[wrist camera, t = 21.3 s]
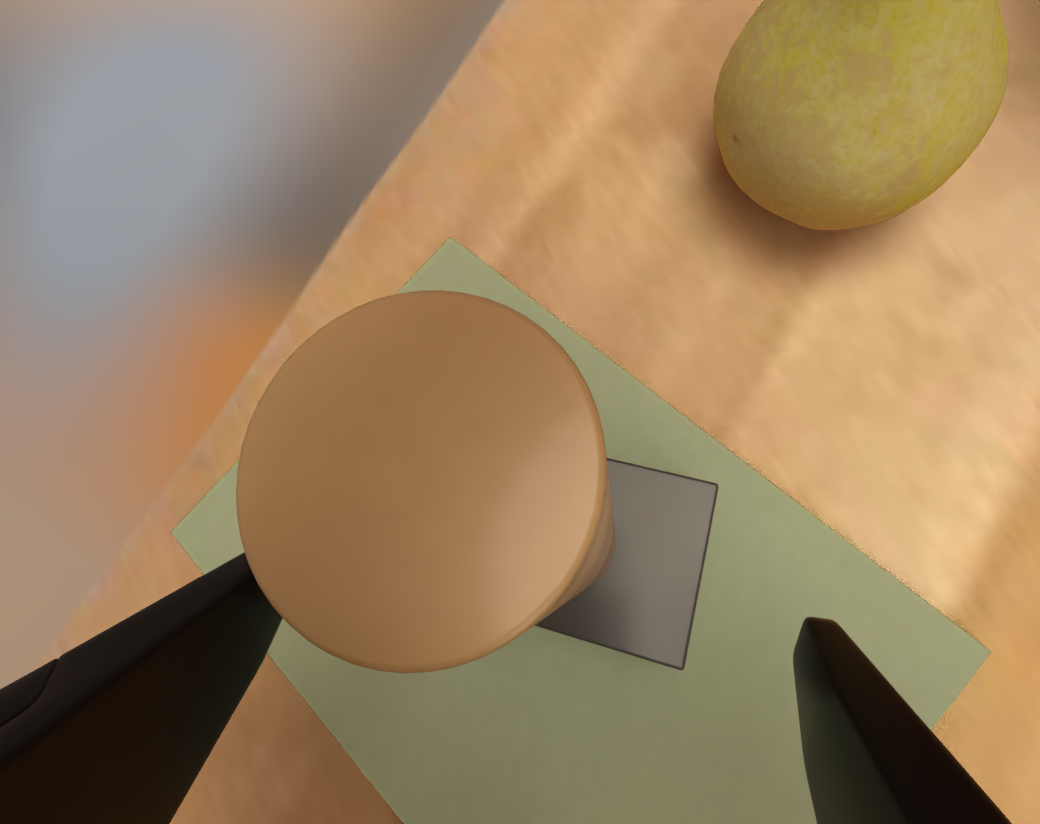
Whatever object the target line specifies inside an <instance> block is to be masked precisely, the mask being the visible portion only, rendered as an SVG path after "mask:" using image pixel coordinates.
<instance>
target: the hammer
mask: <svg viewBox="0 0 1040 824" xmlns="http://www.w3.org/2000/svg"><path fill="white" fill-rule="evenodd" d="M718 488H719V486H718V484H717V483H713V482H709V481H705V480H701V479H696V478H692V477H688V476H683V475H679V474H675V473H670V472H666V471H662V470H657V469H653V468H649V467H644V466H640V465H636V464H631V463H627V462H623V461H619V460H614V459H610V458H606V450H605V441H604V433H603V429H602V425H601V421H600V417H599V413H598V409H597V407H596V404H595V402H594V399H593V397H592V394H591V392H590V389H589V387H588V385H587V383H586V381H585V380H584V378H583V376H582V374H581V372H580V371H579V369H578V367H577V366H576V364H575V363H574V362H573V360H572V359H571V358H570V356H569V355H568V354H567V352H566V351H565V350H564V349H563V347H562V346H561V345H560V344H559V343H558V342H557V341H556V340H555V339H554V338H553V337H552V336H551V335H550V334H549V333H548V332H547V331H545V330H544V329H543V328H541V327H540V326H539V325H537V324H536V323H535V322H533V321H532V320H531V319H529V318H528V317H526V316H525V315H523V314H521V313H519V312H517V311H515V310H514V309H512V308H510V307H508V306H506V305H503V304H501V303H498V302H495V301H493V300H490V299H488V298H484V297H480V296H476V295H472V294H467V293H462V292H453V291H444V290H426V291H413V292H406V293H399V294H395V295H391V296H387V297H384V298H380V299H376V300H374V301H371V302H369V303H366V304H363V305H361V306H358V307H356V308H354V309H352V310H350V311H348V312H346V313H345V314H343V315H341V316H339V317H337V318H335V319H334V320H332V321H331V322H330V323H328V324H327V325H325V326H324V327H322V328H321V329H319V330H318V331H317V332H315V333H314V334H313V335H312V336H311V337H310V338H309V339H307V340H306V341H305V342H304V343H303V344H302V345H300V346H299V348H298V349H297V350H296V351H295V352H294V353H293V354H292V355H291V356H290V357H289V358H288V359H287V360H286V362H285V363H284V364H283V365H282V367H281V368H280V369H279V371H278V372H277V373H276V375H275V376H274V377H273V379H272V380H271V381H270V383H269V385H268V387H267V388H266V390H265V392H264V393H263V395H262V397H261V399H260V400H259V402H258V404H257V407H256V409H255V411H254V413H253V416H252V418H251V420H250V422H249V425H248V428H247V432H246V435H245V438H244V441H243V444H242V449H241V454H240V459H239V464H238V470H237V484H236V506H237V519H238V525H239V531H240V537H241V541H242V545H243V548H244V551H245V554H246V557H247V561H248V563H249V566H250V568H251V570H252V572H253V574H254V576H255V579H256V581H257V583H258V585H259V586H260V588H261V590H262V591H263V593H264V594H265V596H266V597H267V599H268V600H269V602H270V604H271V605H272V606H273V607H274V608H275V610H276V611H277V612H278V613H279V614H280V615H281V617H282V618H283V619H284V620H285V621H286V622H287V623H288V624H289V625H290V626H291V627H292V628H293V629H295V630H296V631H297V632H298V633H299V634H300V635H302V636H303V637H304V638H305V639H306V640H307V641H309V642H311V643H312V644H314V645H315V646H317V647H318V648H320V649H322V650H323V651H325V652H326V653H328V654H330V655H332V656H335V657H337V658H339V659H342V660H344V661H346V662H348V663H351V664H354V665H358V666H361V667H365V668H369V669H373V670H377V671H386V672H395V673H422V672H432V671H438V670H443V669H448V668H454V667H457V666H460V665H463V664H466V663H469V662H472V661H475V660H477V659H480V658H482V657H484V656H486V655H488V654H490V653H492V652H494V651H496V650H498V649H500V648H502V647H504V646H506V645H507V644H509V643H510V642H512V641H513V640H514V639H516V638H517V637H519V636H520V635H522V634H523V633H524V632H526V631H527V630H529V629H530V628H532V627H533V626H537V627H540V628H544V629H547V630H550V631H553V632H557V633H560V634H563V635H566V636H570V637H573V638H576V639H579V640H583V641H586V642H589V643H592V644H596V645H599V646H602V647H605V648H609V649H612V650H615V651H618V652H622V653H625V654H628V655H632V656H635V657H638V658H641V659H645V660H648V661H651V662H654V663H658V664H661V665H664V666H667V667H671V668H674V669H677V670H683V669H684V667H685V662H686V657H687V652H688V646H689V641H690V636H691V631H692V625H693V620H694V615H695V609H696V604H697V599H698V594H699V588H700V583H701V578H702V573H703V567H704V562H705V557H706V552H707V546H708V541H709V536H710V530H711V525H712V520H713V515H714V509H715V504H716V499H717V494H718Z"/></svg>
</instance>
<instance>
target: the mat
mask: <svg viewBox="0 0 1040 824" xmlns="http://www.w3.org/2000/svg"><path fill="white" fill-rule="evenodd" d="M426 290H444V291H453V292H462V293H467V294H472V295H476V296H480V297H484V298H488V299H490V300H493V301H495V302H498V303H501V304H503V305H506V306H508V307H510V308H512V309H514V310H515V311H517V312H519V313H521V314H523V315H525V316H526V317H528V318H529V319H531V320H532V321H533V322H535V323H536V324H537V325H539V326H540V327H541V328H543V329H544V330H545V331H547V332H548V333H549V334H550V335H551V336H552V337H553V338H554V339H555V340H556V341H557V342H558V343H559V344H560V345H561V346H562V347H563V349H564V350H565V351H566V352H567V354H568V355H569V356H570V358H571V359H572V360H573V362H574V363H575V364H576V366H577V367H578V369H579V371H580V372H581V374H582V376H583V378H584V380H585V381H586V383H587V385H588V387H589V389H590V392H591V394H592V397H593V399H594V402H595V404H596V407H597V409H598V413H599V417H600V421H601V425H602V429H603V433H604V441H605V450H606V458H610V459H614V460H619V461H623V462H627V463H631V464H636V465H640V466H644V467H649V468H653V469H657V470H662V471H666V472H670V473H675V474H679V475H683V476H688V477H692V478H696V479H701V480H705V481H709V482H713V483H717V484H718V486H719V488H718V494H717V499H716V504H715V509H714V515H713V520H712V525H711V530H710V536H709V541H708V546H707V552H706V557H705V562H704V567H703V573H702V578H701V583H700V588H699V594H698V599H697V604H696V609H695V615H694V620H693V625H692V631H691V636H690V641H689V646H688V652H687V657H686V662H685V667H684V669H683V670H677V669H674V668H671V667H667V666H664V665H661V664H658V663H654V662H651V661H648V660H645V659H641V658H638V657H635V656H632V655H628V654H625V653H622V652H618V651H615V650H612V649H609V648H605V647H602V646H599V645H596V644H592V643H589V642H586V641H583V640H579V639H576V638H573V637H570V636H566V635H563V634H560V633H557V632H553V631H550V630H547V629H544V628H540V627H537V626H533V627H532V628H530V629H529V630H527V631H526V632H524V633H523V634H522V635H520V636H519V637H517V638H516V639H514V640H513V641H512V642H510V643H509V644H507V645H506V646H504V647H502V648H500V649H498V650H496V651H494V652H492V653H490V654H488V655H486V656H484V657H482V658H480V659H477V660H475V661H472V662H469V663H466V664H463V665H460V666H457V667H454V668H448V669H443V670H438V671H432V672H422V673H395V672H386V671H377V670H373V669H369V668H365V667H361V666H358V665H354V664H351V663H348V662H346V661H344V660H342V659H339V658H337V657H335V656H332V655H330V654H328V653H326V652H325V651H323V650H322V649H320V648H318V647H317V646H315V645H314V644H312V643H311V642H309V641H307V640H306V639H305V638H304V637H303V636H302V635H300V634H299V633H298V632H297V631H296V630H295V629H293V628H292V627H291V626H290V625H289V624H288V623H287V622H286V621H285V620H284V619H282V621H281V623H280V625H279V628H278V630H277V632H276V634H275V636H274V639H273V641H272V643H271V645H270V647H269V650H268V652H267V654H268V655H269V656H270V658H271V659H272V660H273V661H274V663H275V664H276V665H277V666H278V668H279V669H280V670H281V671H282V673H283V674H284V675H285V676H286V678H287V679H288V680H289V681H290V683H291V684H292V685H293V686H294V688H295V689H296V690H297V691H298V693H299V694H300V695H301V696H302V698H303V699H304V700H305V701H306V703H307V704H308V705H309V706H310V708H311V709H312V710H313V711H314V713H315V714H316V715H317V716H318V718H319V719H320V720H321V721H322V723H323V724H324V725H325V726H326V728H327V729H328V730H329V731H330V733H331V734H332V735H333V736H334V738H335V739H336V740H337V741H338V743H339V744H340V745H341V746H342V748H343V749H344V750H345V751H346V753H347V754H348V755H349V757H350V758H351V759H352V760H353V762H354V763H355V764H356V765H357V767H358V768H359V769H360V770H361V772H362V773H363V774H364V775H365V777H366V778H367V779H368V780H369V782H370V783H371V784H372V785H373V787H374V788H375V789H376V790H377V792H378V793H379V794H380V795H381V797H382V798H383V799H384V800H385V802H386V803H387V804H388V805H389V807H390V808H391V809H392V810H393V812H394V813H395V814H396V815H397V817H398V818H399V819H400V820H401V822H402V823H403V824H817V821H816V817H815V812H814V808H813V803H812V799H811V794H810V790H809V785H808V781H807V776H806V770H805V765H804V758H803V750H802V742H801V733H800V724H799V714H798V705H797V696H796V687H795V678H794V669H793V653H794V648H795V645H796V642H797V639H798V636H799V633H800V630H801V627H802V624H803V621H804V620H805V618H806V617H810V616H811V617H818V618H825V619H831V620H834V621H835V622H837V623H838V624H839V625H840V626H841V627H842V629H843V630H844V631H845V632H846V633H847V634H848V635H849V637H850V638H851V639H852V640H853V641H854V642H855V643H856V645H857V646H858V647H859V648H860V649H861V650H862V652H863V653H864V654H865V655H866V656H867V657H868V658H869V660H870V661H871V662H872V663H873V664H874V665H875V667H876V668H877V669H878V670H879V671H880V672H881V673H882V675H883V676H884V677H885V678H886V679H887V680H888V681H889V683H890V684H891V685H892V686H893V687H894V688H895V690H896V691H897V692H898V693H899V694H900V695H901V696H902V698H903V699H904V700H905V701H906V702H907V703H908V705H909V706H910V707H911V708H912V709H913V710H914V711H915V713H916V714H917V715H918V716H919V717H920V718H921V719H922V721H923V722H924V723H925V724H926V725H927V726H928V728H929V729H930V730H932V729H933V727H934V726H935V725H936V724H937V722H938V721H939V720H940V718H941V717H942V716H943V714H944V713H945V712H946V711H947V709H948V708H949V707H950V705H951V704H952V703H953V701H954V700H955V699H956V698H957V696H958V695H959V694H960V692H961V691H962V690H963V688H964V687H965V686H966V685H967V683H968V682H969V681H970V679H971V678H972V677H973V675H974V674H975V673H976V672H977V670H978V669H979V668H980V666H981V665H982V664H983V662H984V661H985V660H986V659H987V657H988V656H989V655H990V653H991V651H990V650H989V649H987V648H986V647H985V646H984V645H982V644H981V643H980V642H978V641H977V640H976V639H974V638H973V637H972V636H971V635H969V634H968V633H967V632H965V631H964V630H963V629H961V628H960V627H959V626H958V625H956V624H955V623H954V622H952V621H951V620H950V619H948V618H947V617H946V616H944V615H943V614H942V613H941V612H939V611H938V610H937V609H935V608H934V607H933V606H931V605H930V604H929V603H928V602H926V601H925V600H924V599H922V598H921V597H920V596H918V595H917V594H916V593H915V592H913V591H912V590H911V589H909V588H908V587H907V586H905V585H904V584H903V583H902V582H900V581H899V580H898V579H896V578H895V577H894V576H892V575H891V574H890V573H888V572H887V571H886V570H885V569H883V568H882V567H881V566H879V565H878V564H877V563H875V562H874V561H873V560H872V559H870V558H869V557H868V556H866V555H865V554H864V553H862V552H861V551H860V550H859V549H857V548H856V547H855V546H853V545H852V544H851V543H849V542H848V541H847V540H845V539H844V538H843V537H842V536H840V535H839V534H838V533H836V532H835V531H834V530H832V529H831V528H830V527H829V526H827V525H826V524H825V523H823V522H822V521H821V520H819V519H818V518H817V517H816V516H814V515H813V514H812V513H810V512H809V511H808V510H806V509H805V508H804V507H802V506H801V505H800V504H799V503H797V502H796V501H795V500H793V499H792V498H791V497H789V496H788V495H787V494H786V493H784V492H783V491H782V490H780V489H779V488H778V487H776V486H775V485H774V484H773V483H771V482H770V481H769V480H767V479H766V478H765V477H763V476H762V475H761V474H759V473H758V472H757V471H756V470H754V469H753V468H752V467H750V466H749V465H748V464H746V463H745V462H744V461H743V460H741V459H740V458H739V457H737V456H736V455H735V454H733V453H732V452H731V451H730V450H728V449H727V448H726V447H724V446H723V445H722V444H720V443H719V442H718V441H716V440H715V439H714V438H713V437H711V436H710V435H709V434H707V433H706V432H705V431H703V430H702V429H701V428H700V427H698V426H697V425H696V424H694V423H693V422H692V421H690V420H689V419H688V418H687V417H685V416H684V415H683V414H681V413H680V412H679V411H677V410H676V409H675V408H673V407H672V406H671V405H670V404H668V403H667V402H666V401H664V400H663V399H662V398H660V397H659V396H658V395H657V394H655V393H654V392H653V391H651V390H650V389H649V388H647V387H646V386H645V385H644V384H642V383H641V382H640V381H638V380H637V379H636V378H634V377H633V376H632V375H631V374H629V373H628V372H627V371H625V370H624V369H623V368H621V367H620V366H619V365H617V364H616V363H615V362H614V361H612V360H611V359H610V358H608V357H607V356H606V355H604V354H603V353H602V352H601V351H599V350H598V349H597V348H595V347H594V346H593V345H591V344H590V343H589V342H588V341H586V340H585V339H584V338H582V337H581V336H580V335H578V334H577V333H576V332H574V331H573V330H572V329H571V328H569V327H568V326H567V325H565V324H564V323H563V322H561V321H560V320H559V319H558V318H556V317H555V316H554V315H552V314H551V313H550V312H548V311H547V310H546V309H545V308H543V307H542V306H541V305H539V304H538V303H537V302H535V301H534V300H533V299H531V298H530V297H529V296H528V295H526V294H525V293H524V292H522V291H521V290H520V289H518V288H517V287H516V286H515V285H513V284H512V283H511V282H509V281H508V280H507V279H505V278H504V277H503V276H502V275H500V274H499V273H498V272H496V271H495V270H494V269H492V268H491V267H490V266H488V265H487V264H486V263H485V262H483V261H482V260H481V259H479V258H478V257H477V256H475V255H474V254H473V253H472V252H470V251H469V250H468V249H466V248H465V247H464V246H462V245H461V244H460V243H459V242H457V241H456V240H455V239H453V238H452V237H450V238H449V239H448V240H447V241H446V242H445V243H444V244H443V245H442V246H441V247H440V248H439V249H438V250H437V251H436V252H435V253H434V255H433V256H432V257H431V258H430V259H429V260H428V261H427V262H426V263H425V264H424V265H423V266H422V267H421V268H420V269H419V270H418V271H417V272H416V274H415V275H414V276H413V277H412V278H411V279H410V280H409V281H408V282H407V283H406V284H405V285H404V286H403V287H402V288H401V289H400V290H399V291H398V293H397V294H399V293H406V292H413V291H426ZM238 464H239V460H238V461H237V463H236V464H235V465H234V466H233V467H232V468H231V469H230V470H229V471H228V472H227V473H226V474H225V475H224V476H223V477H222V478H221V479H220V480H219V482H218V483H217V484H216V485H215V486H214V487H213V488H212V489H211V490H210V491H209V492H208V493H207V494H206V495H205V496H204V497H203V498H202V499H201V501H200V502H199V503H198V504H197V505H196V506H195V507H194V508H193V509H192V510H191V511H190V512H189V513H188V514H187V515H186V516H185V517H184V519H183V520H182V521H181V522H180V523H179V524H178V525H177V526H176V527H175V528H174V529H173V530H172V531H171V534H172V535H173V536H174V538H175V539H176V540H177V541H178V543H179V544H180V545H181V546H182V548H183V549H184V550H185V551H186V553H187V554H188V555H189V556H190V558H191V559H192V560H193V561H194V563H195V564H196V565H197V566H198V568H199V569H200V570H201V571H202V573H203V574H204V575H205V574H206V573H208V572H210V571H212V570H214V569H215V568H217V567H219V566H221V565H222V564H224V563H226V562H228V561H229V560H231V559H233V558H235V557H237V556H238V555H240V554H242V553H244V552H245V551H244V548H243V545H242V541H241V537H240V531H239V525H238V519H237V506H236V484H237V470H238Z"/></svg>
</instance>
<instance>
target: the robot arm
mask: <svg viewBox="0 0 1040 824" xmlns="http://www.w3.org/2000/svg"><path fill="white" fill-rule="evenodd" d="M282 619H283V618H282V617H281V615H280V614H279V613H278V612H277V611H276V610H275V608H274V607H273V606H272V605H271V604H270V602H269V600H268V599H267V597H266V596H265V594H264V593H263V591H262V590H261V588H260V586H259V585H258V583H257V581H256V579H255V576H254V574H253V572H252V570H251V568H250V566H249V563H248V561H247V557H246V554H245V552H244V553H242V554H240V555H238V556H237V557H235V558H233V559H231V560H229V561H228V562H226V563H224V564H222V565H221V566H219V567H217V568H215V569H214V570H212V571H210V572H208V573H206V574H205V575H203V576H201V577H199V578H198V579H196V580H194V581H192V582H191V583H189V584H187V585H185V586H183V587H182V588H180V589H178V590H176V591H175V592H173V593H171V594H169V595H168V596H166V597H164V598H162V599H160V600H159V601H157V602H155V603H153V604H152V605H150V606H148V607H146V608H145V609H143V610H141V611H139V612H137V613H136V614H134V615H132V616H130V617H129V618H127V619H125V620H123V621H121V622H120V623H118V624H116V625H114V626H113V627H111V628H109V629H107V630H106V631H104V632H102V633H100V634H98V635H97V636H95V637H93V638H91V639H90V640H88V641H86V642H84V643H83V644H81V645H79V646H77V647H75V648H74V649H72V650H70V651H68V652H67V653H65V654H63V655H61V656H60V658H59V659H54V660H52V661H50V662H49V663H47V664H45V665H43V666H42V667H40V668H38V669H36V670H35V671H33V672H31V673H29V674H27V675H26V676H24V677H22V678H20V679H18V680H16V681H15V682H13V683H11V684H9V685H7V686H6V687H4V688H2V689H0V824H169V823H170V822H171V820H172V818H173V817H174V815H175V813H176V811H177V810H178V808H179V806H180V804H181V803H182V801H183V799H184V797H185V796H186V794H187V792H188V791H189V789H190V787H191V785H192V784H193V782H194V780H195V778H196V777H197V775H198V773H199V772H200V770H201V768H202V766H203V765H204V763H205V761H206V759H207V758H208V756H209V754H210V752H211V751H212V749H213V747H214V746H215V744H216V742H217V740H218V739H219V737H220V735H221V733H222V732H223V730H224V728H225V726H226V725H227V723H228V721H229V720H230V718H231V716H232V714H233V713H234V711H235V709H236V707H237V706H238V704H239V702H240V700H241V699H242V697H243V695H244V694H245V692H246V690H247V688H248V687H249V685H250V683H251V681H252V680H253V678H254V676H255V675H256V673H257V671H258V669H259V667H260V665H261V664H262V662H263V660H264V658H265V656H266V654H267V652H268V650H269V647H270V645H271V643H272V641H273V639H274V636H275V634H276V632H277V630H278V628H279V625H280V623H281V621H282ZM793 669H794V678H795V687H796V696H797V705H798V714H799V724H800V733H801V742H802V750H803V758H804V765H805V770H806V776H807V781H808V785H809V790H810V794H811V799H812V803H813V808H814V812H815V817H816V821H817V824H1012V823H1011V822H1010V821H1009V820H1008V819H1007V817H1006V816H1005V815H1004V814H1003V813H1002V812H1001V810H1000V809H999V808H998V807H997V806H996V805H995V804H994V802H993V801H992V800H991V799H990V798H989V797H988V796H987V794H986V793H985V792H984V791H983V790H982V789H981V787H980V786H979V785H978V784H977V783H976V782H975V781H974V779H973V778H972V777H971V776H970V775H969V774H968V772H967V771H966V770H965V769H964V768H963V767H962V766H961V764H960V763H959V762H958V761H957V760H956V759H955V757H954V756H953V755H952V754H951V753H950V752H949V751H948V749H947V748H946V747H945V746H944V745H943V744H942V743H941V741H940V740H939V739H938V738H937V737H936V736H935V734H934V733H933V732H932V731H931V730H930V729H929V728H928V726H927V725H926V724H925V723H924V722H923V721H922V719H921V718H920V717H919V716H918V715H917V714H916V713H915V711H914V710H913V709H912V708H911V707H910V706H909V705H908V703H907V702H906V701H905V700H904V699H903V698H902V696H901V695H900V694H899V693H898V692H897V691H896V690H895V688H894V687H893V686H892V685H891V684H890V683H889V681H888V680H887V679H886V678H885V677H884V676H883V675H882V673H881V672H880V671H879V670H878V669H877V668H876V667H875V665H874V664H873V663H872V662H871V661H870V660H869V658H868V657H867V656H866V655H865V654H864V653H863V652H862V650H861V649H860V648H859V647H858V646H857V645H856V643H855V642H854V641H853V640H852V639H851V638H850V637H849V635H848V634H847V633H846V632H845V631H844V630H843V629H842V627H841V626H840V625H839V624H838V623H837V622H835V621H834V620H831V619H825V618H818V617H811V616H810V617H806V618H805V620H804V621H803V624H802V627H801V630H800V633H799V636H798V639H797V642H796V645H795V648H794V653H793Z"/></svg>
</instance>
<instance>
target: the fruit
mask: <svg viewBox="0 0 1040 824" xmlns="http://www.w3.org/2000/svg"><path fill="white" fill-rule="evenodd" d="M1007 72H1008V45H1007V37H1006V32H1005V27H1004V24H1003V21H1002V18H1001V15H1000V10H999V4H998V0H764V1H763V2H762V3H761V4H760V6H759V7H758V9H757V10H756V11H755V13H754V14H753V15H752V17H751V18H750V20H749V21H748V23H747V24H746V26H745V27H744V29H743V30H742V32H741V34H740V35H739V37H738V38H737V40H736V41H735V43H734V45H733V46H732V48H731V50H730V52H729V54H728V56H727V58H726V60H725V62H724V64H723V66H722V69H721V72H720V76H719V79H718V83H717V87H716V92H715V97H714V112H713V114H714V125H715V133H716V137H717V141H718V144H719V148H720V151H721V154H722V158H723V161H724V163H725V166H726V169H727V170H728V172H729V174H730V176H731V177H732V179H733V180H734V181H735V183H736V184H737V185H738V186H739V188H740V189H741V190H742V191H743V192H744V193H745V194H746V195H747V196H748V197H750V198H751V199H752V200H753V201H754V202H756V203H757V204H758V205H760V206H761V207H763V208H764V209H766V210H768V211H769V212H771V213H773V214H775V215H777V216H779V217H782V218H784V219H786V220H788V221H791V222H793V223H795V224H797V225H799V226H802V227H806V228H810V229H816V230H840V229H848V228H855V227H861V226H866V225H870V224H875V223H878V222H881V221H884V220H887V219H889V218H891V217H893V216H895V215H898V214H900V213H901V212H903V211H905V210H907V209H909V208H910V207H912V206H914V205H915V204H917V203H919V202H920V201H922V200H924V199H925V198H926V197H928V196H929V195H930V194H932V193H933V192H934V191H935V190H936V189H938V188H939V187H940V186H941V185H943V184H944V183H945V182H946V181H947V180H948V179H949V178H950V177H951V176H952V175H953V174H954V173H955V172H956V171H957V170H958V169H959V168H960V166H961V165H962V164H963V163H964V162H965V161H966V159H967V158H968V157H969V156H970V154H971V153H972V152H973V151H974V150H975V149H976V147H977V146H978V145H979V143H980V142H981V140H982V139H983V137H984V135H985V134H986V132H987V130H988V129H989V127H990V125H991V124H992V122H993V120H994V118H995V116H996V114H997V112H998V110H999V107H1000V105H1001V102H1002V99H1003V97H1004V92H1005V87H1006V80H1007Z"/></svg>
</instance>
